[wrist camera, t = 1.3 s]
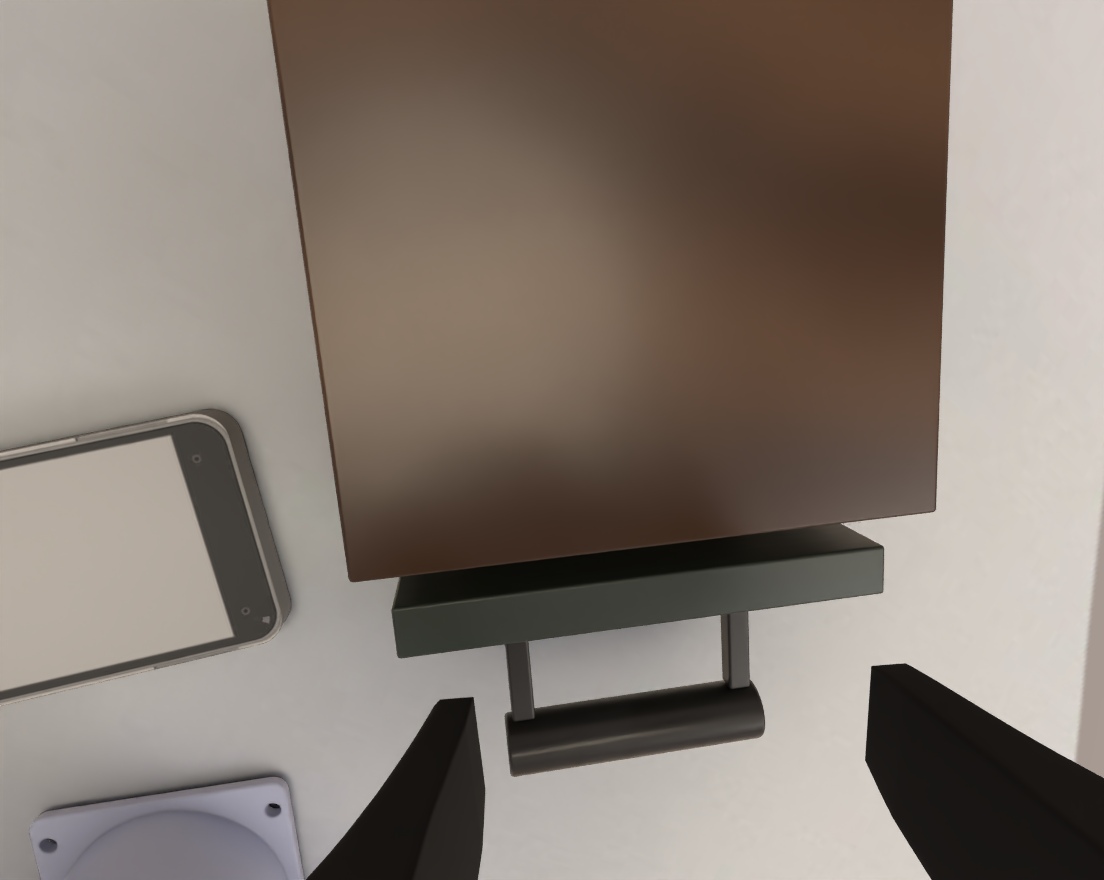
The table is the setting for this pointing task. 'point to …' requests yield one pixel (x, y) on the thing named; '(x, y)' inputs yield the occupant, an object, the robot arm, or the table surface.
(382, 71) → the cabinet
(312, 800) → the table surface
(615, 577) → the rack drawer
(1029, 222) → the table surface
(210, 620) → the smartphone
